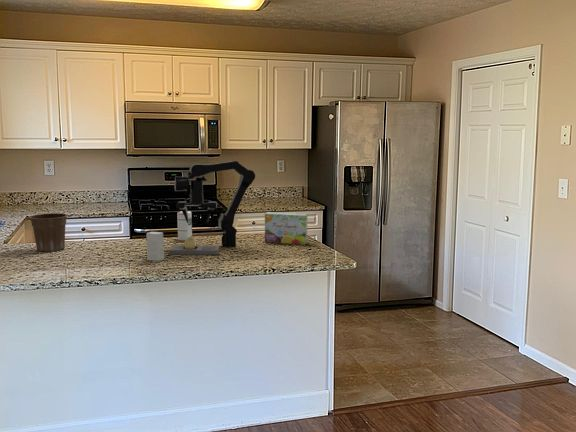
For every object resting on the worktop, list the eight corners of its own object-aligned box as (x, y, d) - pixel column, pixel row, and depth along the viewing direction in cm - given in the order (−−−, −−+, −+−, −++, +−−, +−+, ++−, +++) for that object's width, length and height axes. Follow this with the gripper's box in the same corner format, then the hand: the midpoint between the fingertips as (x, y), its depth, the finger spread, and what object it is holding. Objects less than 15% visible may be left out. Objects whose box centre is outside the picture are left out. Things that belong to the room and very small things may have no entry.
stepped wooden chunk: (196, 251, 266) (195, 236, 265) (194, 253, 262) (194, 238, 261) (186, 251, 266) (186, 236, 265) (185, 253, 262) (184, 238, 260)
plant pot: (38, 254, 255) (36, 219, 253) (26, 249, 267) (24, 215, 265) (74, 250, 266) (72, 216, 263) (61, 244, 278) (60, 212, 275)
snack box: (264, 242, 288) (264, 213, 285) (267, 240, 293) (267, 211, 291) (305, 244, 283) (305, 214, 281) (307, 242, 289) (307, 213, 286)
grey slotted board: (219, 249, 270) (219, 245, 269) (217, 254, 259) (217, 250, 259) (173, 249, 269) (172, 245, 269) (169, 254, 258) (168, 250, 258)
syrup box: (188, 240, 291) (187, 212, 289) (177, 240, 292) (177, 212, 290) (192, 238, 296) (192, 211, 294) (181, 238, 298) (181, 210, 295)
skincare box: (164, 259, 249) (163, 232, 247) (159, 261, 245) (158, 234, 243) (152, 258, 251) (151, 231, 249) (146, 260, 247) (146, 233, 245)
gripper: (217, 188, 279) (218, 220, 281) (179, 188, 278) (180, 220, 280) (215, 191, 268) (216, 223, 270) (176, 191, 267) (176, 223, 269)
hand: (197, 222), depth 273 cm, fingers open, 9 cm apart
